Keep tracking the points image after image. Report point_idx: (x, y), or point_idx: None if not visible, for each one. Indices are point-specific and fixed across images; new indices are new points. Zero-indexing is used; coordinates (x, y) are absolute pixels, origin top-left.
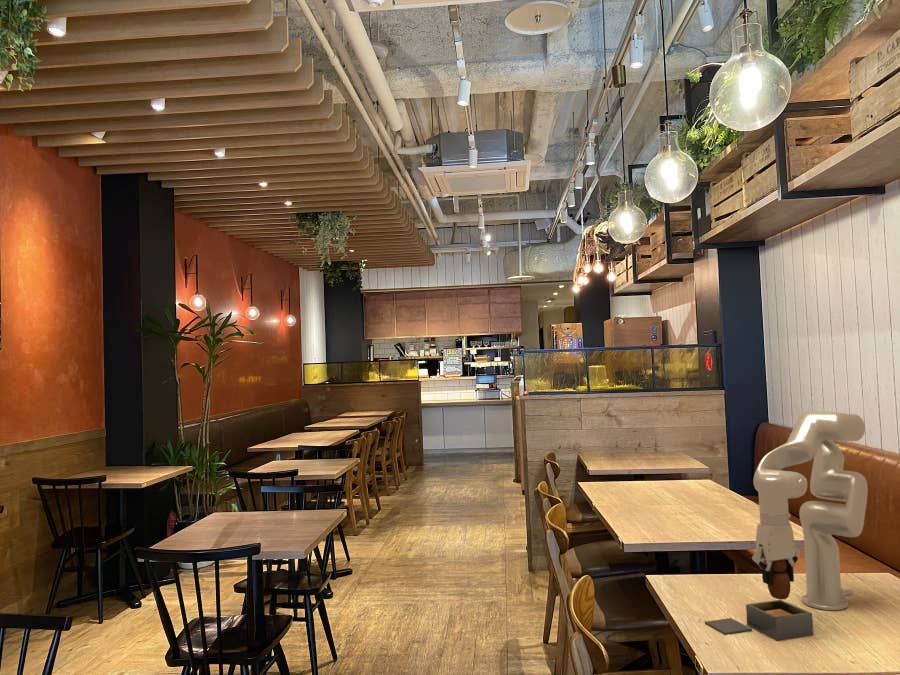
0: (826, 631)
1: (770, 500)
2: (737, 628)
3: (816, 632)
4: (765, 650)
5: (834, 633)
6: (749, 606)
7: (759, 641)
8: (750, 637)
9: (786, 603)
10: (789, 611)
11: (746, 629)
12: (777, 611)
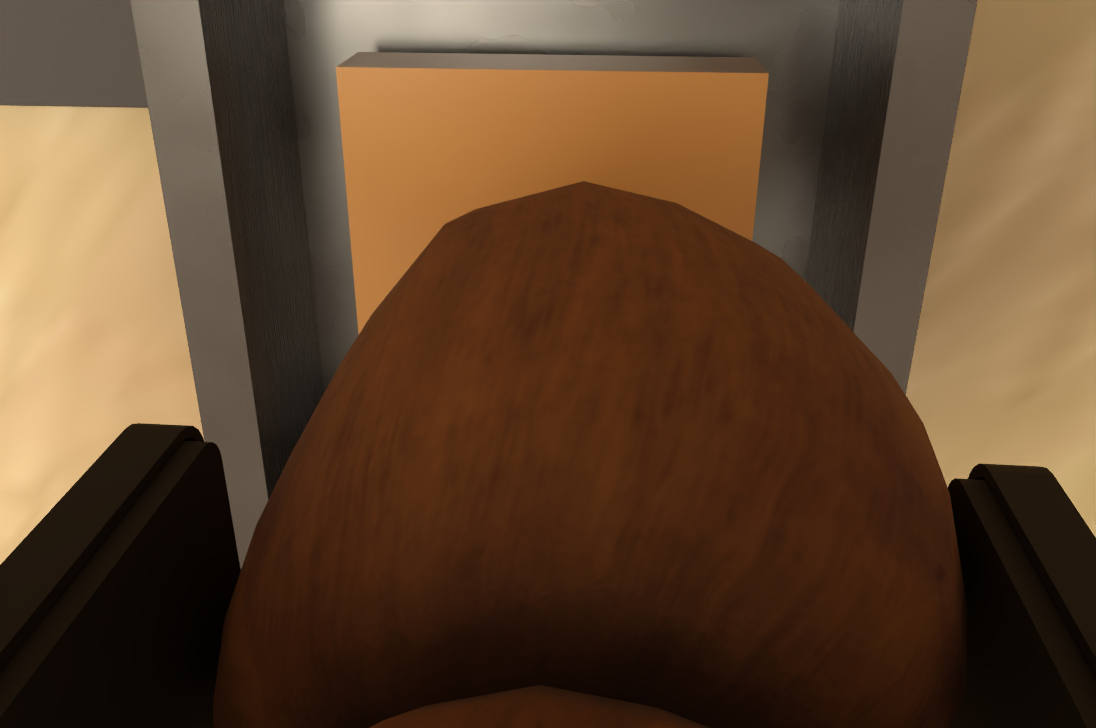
0: (1052, 416)
1: None
2: (8, 26)
3: (918, 400)
4: None
5: (1073, 485)
6: (134, 9)
7: (123, 381)
8: (81, 260)
9: (890, 148)
10: (842, 193)
11: (111, 100)
12: (631, 160)
